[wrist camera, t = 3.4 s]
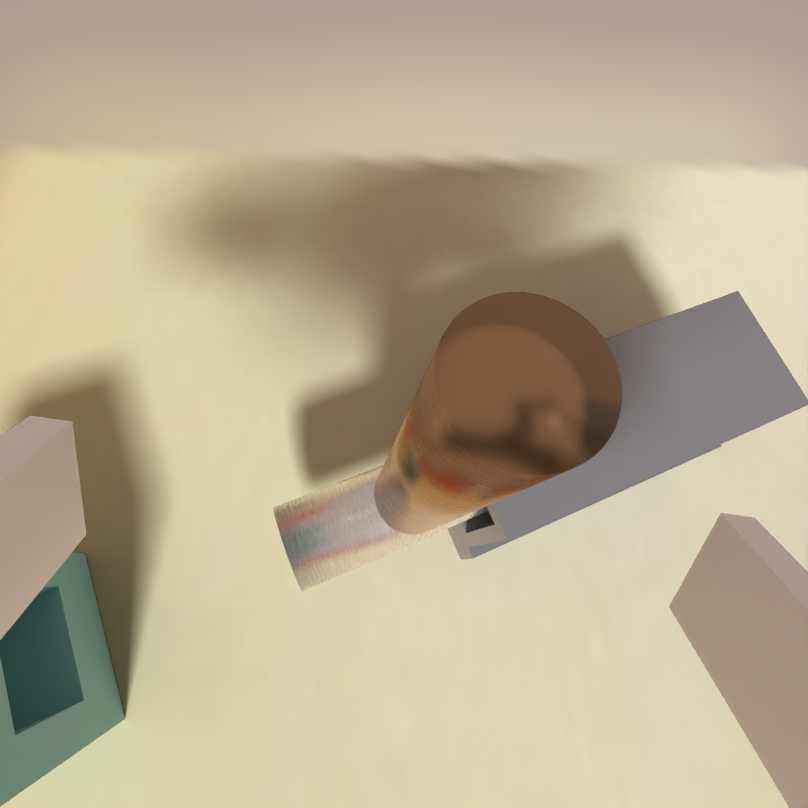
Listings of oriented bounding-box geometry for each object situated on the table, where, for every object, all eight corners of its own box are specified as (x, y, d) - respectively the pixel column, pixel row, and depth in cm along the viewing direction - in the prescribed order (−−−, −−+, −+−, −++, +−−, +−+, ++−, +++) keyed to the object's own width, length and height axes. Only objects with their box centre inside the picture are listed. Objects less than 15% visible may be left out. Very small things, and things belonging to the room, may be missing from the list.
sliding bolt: (670, 431, 24) (1143, 236, 10) (305, 589, 20) (233, 633, 6) (637, 372, 25) (1033, 112, 11) (279, 512, 21) (159, 387, 7)
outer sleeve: (691, 455, 28) (817, 415, 20) (461, 559, 24) (514, 554, 17) (633, 353, 29) (731, 281, 22) (409, 437, 26) (438, 385, 19)
